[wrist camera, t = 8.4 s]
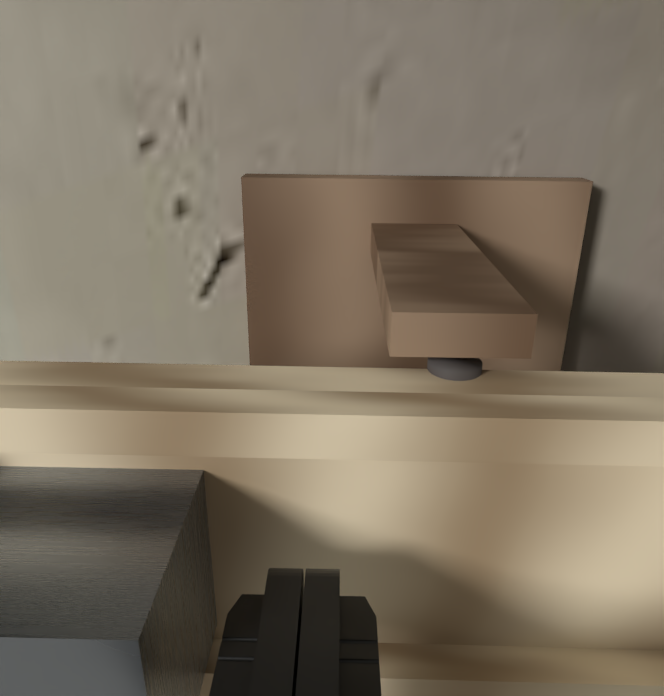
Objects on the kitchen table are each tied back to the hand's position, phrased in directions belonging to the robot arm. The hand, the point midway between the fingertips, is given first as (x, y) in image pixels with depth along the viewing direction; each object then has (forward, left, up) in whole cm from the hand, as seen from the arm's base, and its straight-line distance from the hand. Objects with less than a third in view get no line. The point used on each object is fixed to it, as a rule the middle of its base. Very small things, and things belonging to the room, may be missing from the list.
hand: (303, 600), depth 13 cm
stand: (0, +3, -13) cm, 13 cm away
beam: (0, +3, -8) cm, 8 cm away
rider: (0, -5, -2) cm, 6 cm away
